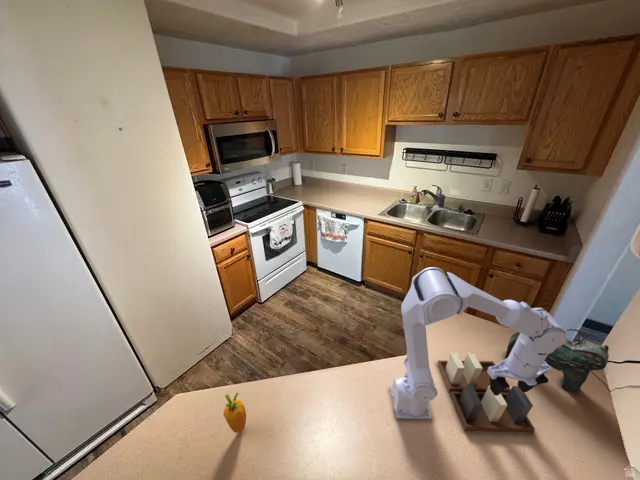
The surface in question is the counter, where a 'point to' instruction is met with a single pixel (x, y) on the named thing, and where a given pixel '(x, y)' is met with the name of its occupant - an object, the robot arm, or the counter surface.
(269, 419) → the counter surface
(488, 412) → the cream book
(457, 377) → the cream book
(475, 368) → the cream book
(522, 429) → the dark wooden tray
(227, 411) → the carrot
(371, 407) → the counter surface
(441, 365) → the shallow brown tray
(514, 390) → the charcoal book
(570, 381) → the green mottled arch
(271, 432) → the counter surface
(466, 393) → the charcoal book
